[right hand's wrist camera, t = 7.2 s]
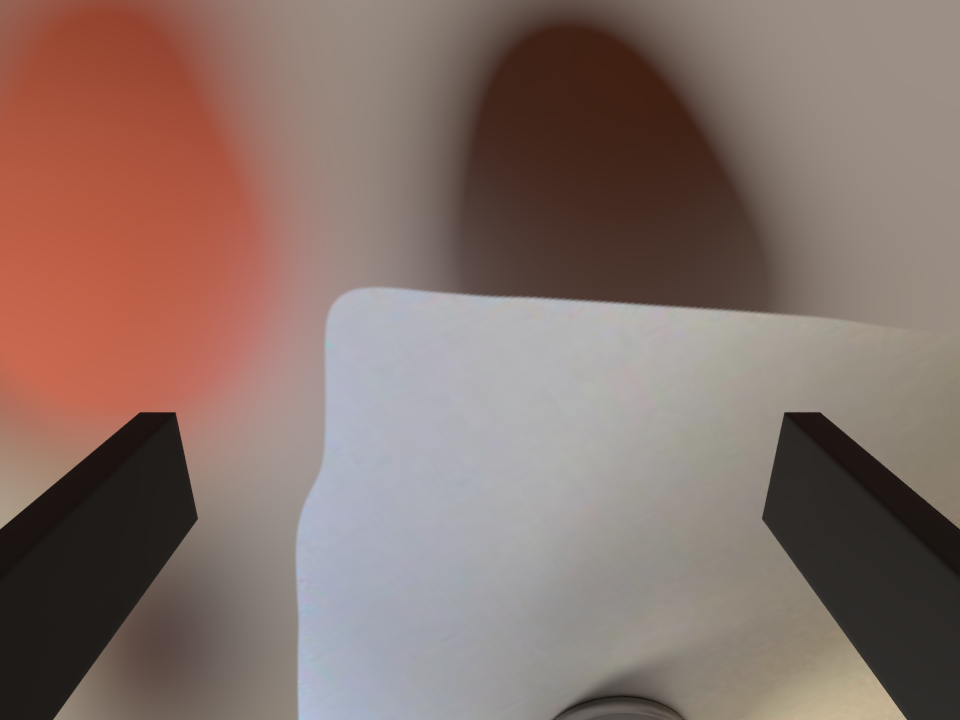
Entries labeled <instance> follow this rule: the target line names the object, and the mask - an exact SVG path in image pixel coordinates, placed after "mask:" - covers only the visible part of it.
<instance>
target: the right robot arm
mask: <svg viewBox="0 0 960 720" xmlns="http://www.w3.org/2000/svg"><path fill="white" fill-rule="evenodd" d="M197 519H198V517H197V512H196V507H195V503H194V498H193V493H192V489H191V484H190V479H189V474H188V469H187V465H186V460H185V455H184V450H183V446H182V441H181V436H180V431H179V427H178V422H177V417H176V413H175V412H140V413H139V414H138V415H136V416H135V417H134V418H133V419H132V420H130V421H129V422H128V423H127V424H126V425H124V426H123V427H122V428H121V429H120V430H118V431H117V432H116V433H115V434H114V435H112V436H111V437H110V438H109V439H108V440H106V441H105V442H104V443H103V444H102V445H101V446H99V447H98V448H97V449H96V450H95V451H93V452H92V453H91V454H90V455H89V456H87V457H86V458H85V459H84V460H83V461H81V462H80V463H79V464H78V465H77V466H75V467H74V468H73V469H72V470H71V471H69V472H68V473H67V474H66V475H65V476H63V477H62V478H61V479H60V480H59V481H57V482H56V483H55V484H54V485H53V486H52V487H50V488H49V489H48V490H47V491H46V492H44V493H43V494H42V495H41V496H40V497H38V498H37V499H36V500H35V501H34V502H32V503H31V504H30V505H29V506H28V507H26V508H25V509H24V510H23V511H22V512H20V513H19V514H18V515H17V516H16V517H15V518H13V519H12V520H11V521H10V522H8V523H7V524H6V525H5V526H4V527H3V528H1V529H0V720H53V719H54V718H55V716H56V715H57V713H58V712H59V711H60V709H61V708H62V707H63V705H64V704H65V702H66V701H67V700H68V698H69V697H70V695H71V694H72V693H73V691H74V690H75V689H76V687H77V686H78V684H79V683H80V682H81V680H82V679H83V677H84V676H85V675H86V673H87V672H88V670H89V669H90V668H91V666H92V665H93V664H94V662H95V661H96V659H97V658H98V657H99V655H100V654H101V652H102V651H103V650H104V648H105V647H106V646H107V644H108V643H109V641H110V640H111V639H112V637H113V636H114V634H115V633H116V632H117V630H118V629H119V628H120V626H121V625H122V623H123V622H124V621H125V619H126V618H127V616H128V615H129V614H130V612H131V611H132V609H133V608H134V607H135V605H136V604H137V603H138V601H139V600H140V598H141V597H142V596H143V594H144V593H145V591H146V590H147V589H148V587H149V586H150V585H151V583H152V582H153V580H154V579H155V578H156V576H157V575H158V573H159V572H160V571H161V569H162V568H163V567H164V565H165V564H166V562H167V561H168V560H169V558H170V557H171V555H172V554H173V553H174V551H175V550H176V549H177V547H178V546H179V544H180V543H181V542H182V540H183V539H184V537H185V536H186V535H187V533H188V532H189V531H190V529H191V528H192V526H193V525H194V524H195V522H196V521H197ZM762 519H763V521H764V522H765V524H766V525H767V526H768V528H769V529H770V531H771V532H772V533H773V535H774V536H775V537H776V539H777V540H778V542H779V543H780V544H781V546H782V547H783V549H784V550H785V551H786V553H787V554H788V555H789V557H790V558H791V560H792V561H793V562H794V564H795V565H796V567H797V568H798V569H799V571H800V572H801V573H802V575H803V576H804V578H805V579H806V580H807V582H808V583H809V585H810V586H811V587H812V589H813V590H814V592H815V593H816V594H817V596H818V597H819V598H820V600H821V601H822V603H823V604H824V605H825V607H826V608H827V610H828V611H829V612H830V614H831V615H832V616H833V618H834V619H835V621H836V622H837V623H838V625H839V626H840V628H841V629H842V630H843V632H844V633H845V634H846V636H847V637H848V639H849V640H850V641H851V643H852V644H853V646H854V647H855V648H856V650H857V651H858V652H859V654H860V655H861V657H862V658H863V659H864V661H865V662H866V664H867V665H868V666H869V668H870V669H871V671H872V672H873V673H874V675H875V676H876V677H877V679H878V680H879V682H880V683H881V684H882V686H883V687H884V689H885V690H886V691H887V693H888V694H889V695H890V697H891V698H892V700H893V701H894V702H895V704H896V705H897V707H898V708H899V709H900V711H901V712H902V713H903V715H904V716H905V718H906V719H907V720H960V529H959V528H957V527H956V526H955V525H954V524H953V523H952V522H950V521H949V520H948V519H947V518H946V517H944V516H943V515H942V514H941V513H940V512H938V511H937V510H936V509H935V508H934V507H932V506H931V505H930V504H929V503H928V502H926V501H925V500H924V499H923V498H922V497H920V496H919V495H918V494H917V493H916V492H914V491H913V490H912V489H911V488H910V487H909V486H907V485H906V484H905V483H904V482H903V481H901V480H900V479H899V478H898V477H897V476H895V475H894V474H893V473H892V472H891V471H889V470H888V469H887V468H886V467H885V466H883V465H882V464H881V463H880V462H879V461H877V460H876V459H875V458H874V457H873V456H871V455H870V454H869V453H868V452H867V451H865V450H864V449H863V448H862V447H861V446H860V445H858V444H857V443H856V442H855V441H854V440H852V439H851V438H850V437H849V436H848V435H846V434H845V433H844V432H843V431H842V430H840V429H839V428H838V427H837V426H836V425H834V424H833V423H832V422H831V421H830V420H828V419H827V418H826V417H825V416H824V415H822V414H821V413H820V412H784V417H783V422H782V427H781V431H780V436H779V441H778V446H777V450H776V455H775V460H774V465H773V469H772V474H771V479H770V484H769V488H768V493H767V498H766V503H765V507H764V512H763V517H762ZM555 720H683V719H682V718H681V717H680V716H679V715H678V714H676V713H675V712H674V711H672V710H670V709H669V708H667V707H665V706H663V705H661V704H658V703H655V702H652V701H648V700H644V699H639V698H630V697H613V698H604V699H599V700H594V701H590V702H587V703H584V704H581V705H579V706H576V707H574V708H572V709H570V710H568V711H567V712H565V713H563V714H562V715H560V716H559V717H558V718H556V719H555Z"/></svg>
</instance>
